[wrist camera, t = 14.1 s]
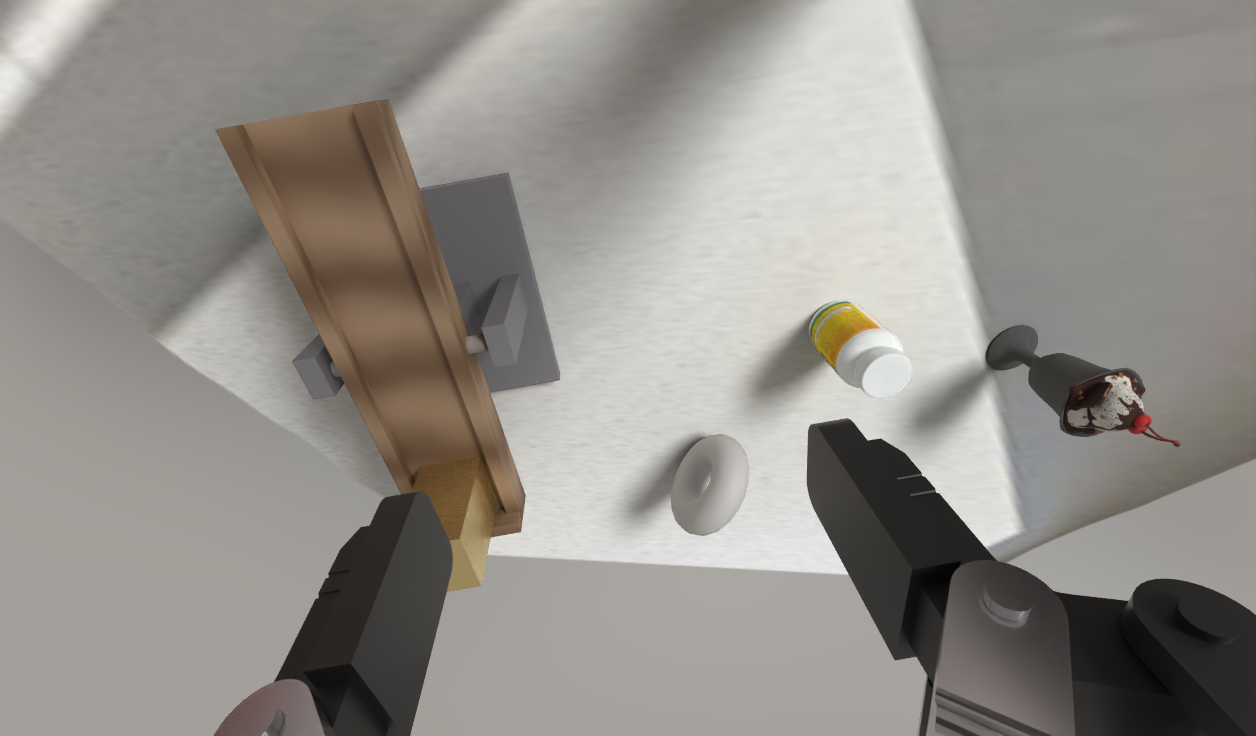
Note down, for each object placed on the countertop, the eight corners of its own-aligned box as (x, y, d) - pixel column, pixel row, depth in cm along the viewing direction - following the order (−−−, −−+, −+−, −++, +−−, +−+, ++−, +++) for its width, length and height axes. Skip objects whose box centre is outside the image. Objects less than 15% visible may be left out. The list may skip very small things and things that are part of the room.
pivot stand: (301, 209, 39) (213, 252, 30) (508, 172, 39) (485, 204, 30) (391, 403, 48) (345, 484, 39) (560, 373, 48) (555, 447, 39)
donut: (713, 409, 52) (740, 476, 43) (739, 423, 53) (771, 491, 44) (657, 477, 56) (672, 551, 47) (683, 488, 57) (702, 563, 48)
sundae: (1043, 364, 52) (1196, 460, 39) (976, 384, 53) (1106, 485, 40) (1050, 307, 49) (1219, 391, 36) (979, 329, 50) (1120, 419, 37)
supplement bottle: (874, 307, 48) (936, 357, 39) (844, 356, 50) (896, 413, 42) (824, 290, 46) (878, 337, 38) (795, 341, 49) (840, 396, 40)
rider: (421, 465, 39) (387, 551, 32) (480, 455, 39) (459, 538, 32) (441, 508, 41) (414, 597, 34) (497, 498, 41) (481, 585, 34)
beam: (224, 128, 29) (176, 136, 25) (409, 95, 29) (386, 98, 25) (418, 514, 44) (404, 552, 40) (539, 493, 44) (536, 529, 40)
